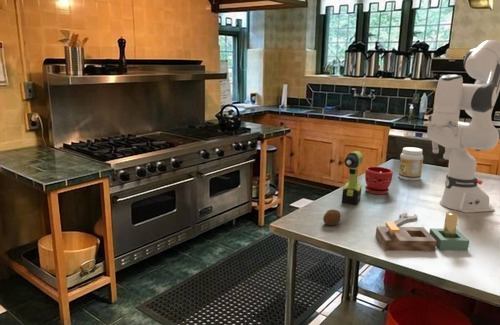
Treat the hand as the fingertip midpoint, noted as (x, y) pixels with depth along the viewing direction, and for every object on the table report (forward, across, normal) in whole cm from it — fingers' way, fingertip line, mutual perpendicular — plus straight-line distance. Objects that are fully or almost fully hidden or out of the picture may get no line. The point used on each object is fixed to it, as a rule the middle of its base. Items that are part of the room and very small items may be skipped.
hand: (440, 155), depth 154 cm
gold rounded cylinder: (+31, -11, -2) cm, 33 cm away
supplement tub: (+31, +73, -17) cm, 81 cm away
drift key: (+30, -11, +19) cm, 37 cm away
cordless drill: (+31, +30, +26) cm, 51 cm away
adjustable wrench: (+32, +8, +11) cm, 35 cm away
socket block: (+31, -11, +14) cm, 36 cm away
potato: (+31, +6, +38) cm, 50 cm away
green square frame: (+31, -11, -2) cm, 33 cm away
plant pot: (+31, +48, +8) cm, 58 cm away
